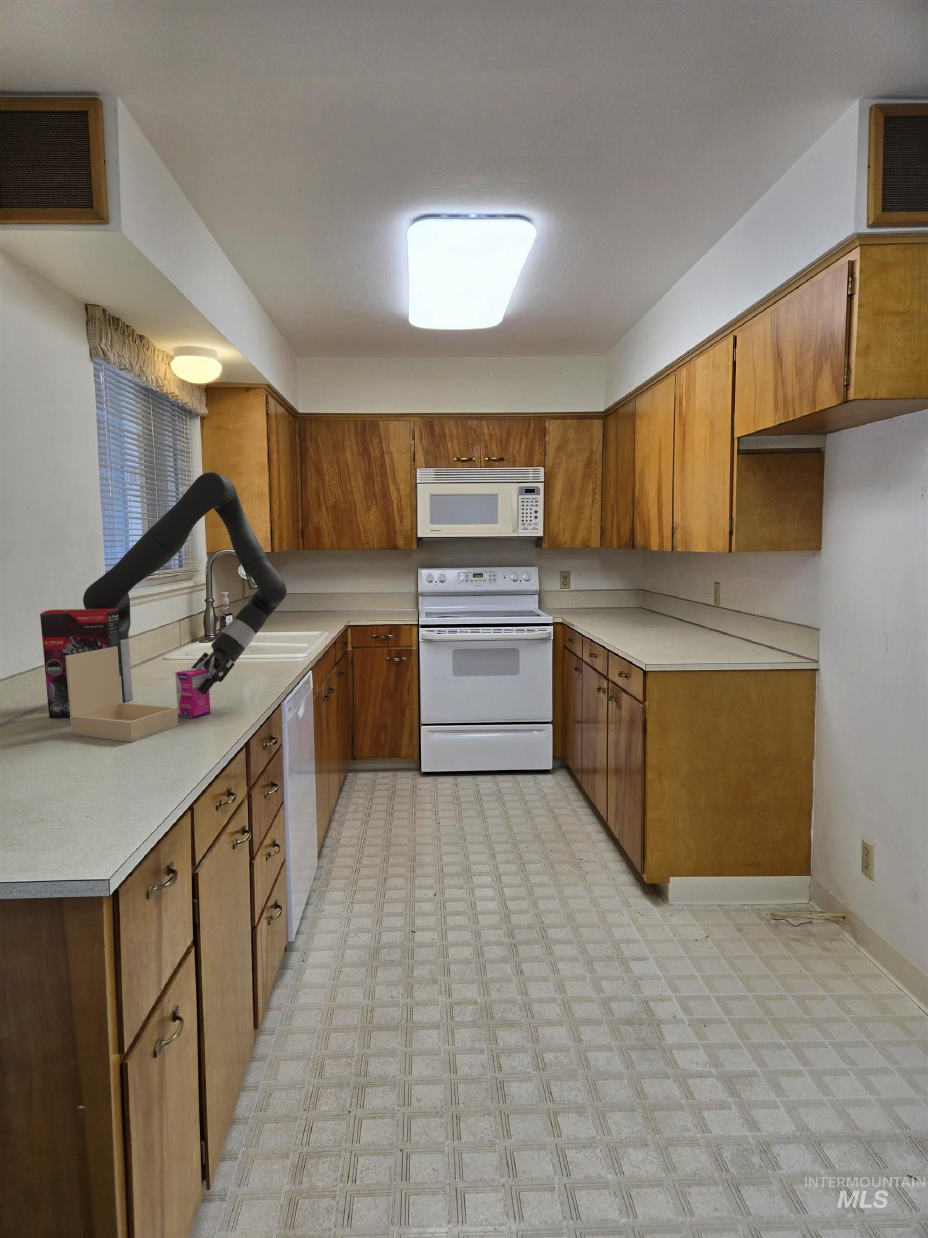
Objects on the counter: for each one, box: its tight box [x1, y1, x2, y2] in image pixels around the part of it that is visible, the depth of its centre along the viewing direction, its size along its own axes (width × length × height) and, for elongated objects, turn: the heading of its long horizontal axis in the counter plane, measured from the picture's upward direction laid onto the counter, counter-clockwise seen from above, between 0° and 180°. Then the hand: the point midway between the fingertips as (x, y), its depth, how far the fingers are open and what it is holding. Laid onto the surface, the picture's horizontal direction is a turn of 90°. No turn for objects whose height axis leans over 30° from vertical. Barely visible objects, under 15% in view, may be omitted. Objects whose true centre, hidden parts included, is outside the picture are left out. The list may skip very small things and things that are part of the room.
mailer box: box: [65, 647, 179, 743], centre depth 164 cm, size 18×14×18 cm
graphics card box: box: [39, 608, 126, 719], centre depth 178 cm, size 17×7×27 cm, turn 91°
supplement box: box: [174, 667, 212, 719], centre depth 178 cm, size 6×6×12 cm
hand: (193, 690), depth 178 cm, fingers open, 8 cm apart
